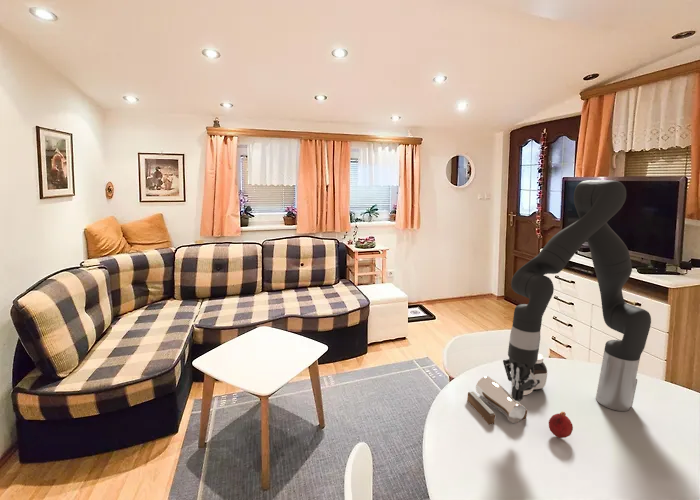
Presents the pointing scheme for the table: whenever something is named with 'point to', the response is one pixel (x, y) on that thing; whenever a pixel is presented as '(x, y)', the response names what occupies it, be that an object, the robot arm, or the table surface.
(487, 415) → the cradle
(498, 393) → the beer glass
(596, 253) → the robot arm
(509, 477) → the table surface
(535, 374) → the spread jar
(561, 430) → the onion
